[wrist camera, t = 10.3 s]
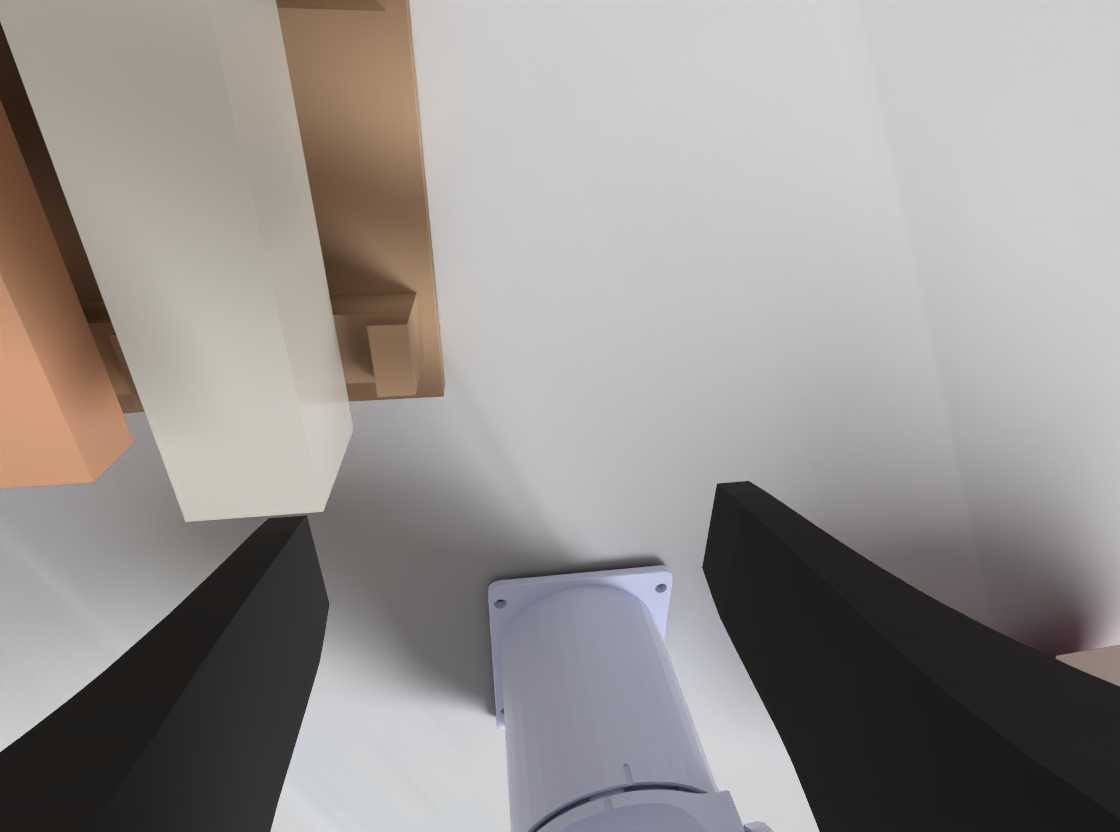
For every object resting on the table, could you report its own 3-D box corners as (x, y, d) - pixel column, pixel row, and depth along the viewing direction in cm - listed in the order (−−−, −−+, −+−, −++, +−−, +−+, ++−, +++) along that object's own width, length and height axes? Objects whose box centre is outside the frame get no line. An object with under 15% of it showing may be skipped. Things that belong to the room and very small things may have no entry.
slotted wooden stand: (444, 383, 20) (439, 441, 16) (-6, 406, 18) (-120, 476, 15) (393, -164, 13) (366, -264, 10) (-318, -213, 12) (-662, -357, 8)
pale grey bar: (353, 429, 17) (323, 511, 13) (246, 435, 16) (185, 522, 13) (231, -247, 10) (108, -432, 7) (48, -262, 10) (-181, -466, 6)
